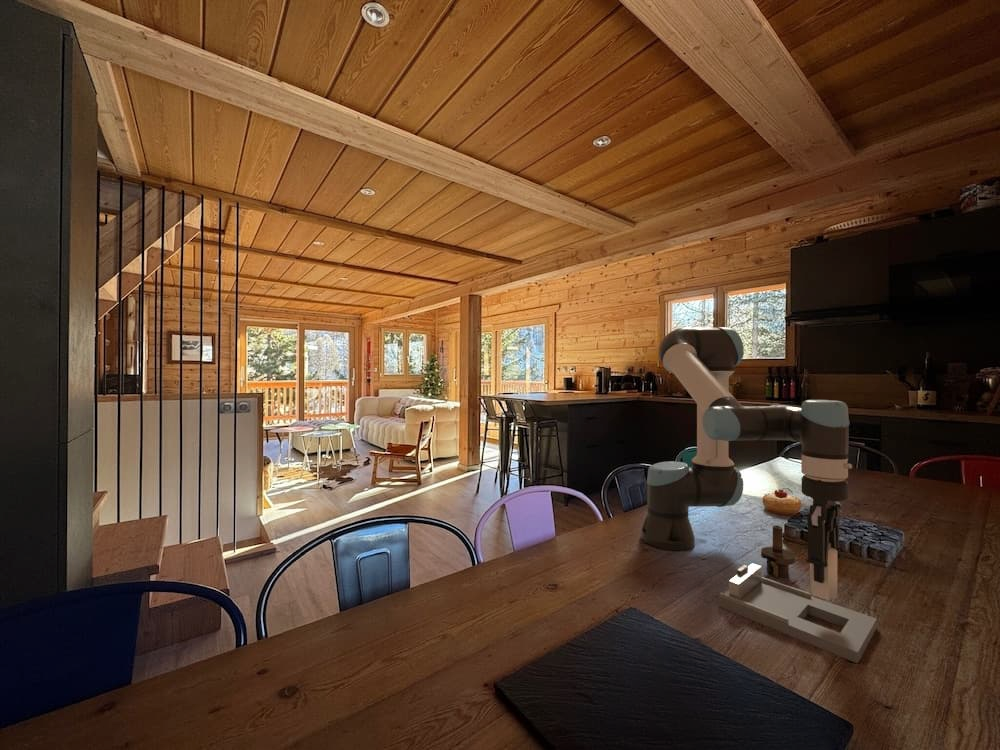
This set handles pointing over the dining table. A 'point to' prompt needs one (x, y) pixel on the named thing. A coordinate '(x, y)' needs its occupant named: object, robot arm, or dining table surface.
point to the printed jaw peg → (830, 572)
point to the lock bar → (745, 580)
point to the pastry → (782, 503)
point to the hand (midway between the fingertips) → (823, 592)
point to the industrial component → (778, 555)
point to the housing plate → (790, 608)
